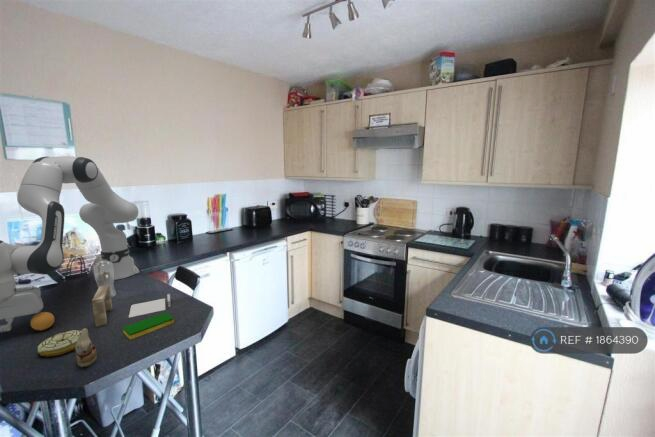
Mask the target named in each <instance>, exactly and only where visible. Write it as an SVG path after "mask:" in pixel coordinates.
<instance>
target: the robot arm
mask: <svg viewBox="0 0 655 437" xmlns="http://www.w3.org/2000/svg"><path fill="white" fill-rule="evenodd" d="M63 184H75V185H76V187H77V189H78V191H79V192H80V194H81V195H82V196H83V197H84V199H85V200H86V201H87V202H89V203H85V204H83V205H82V206H81V207H80V208H79V213H78V214H79V217H80V220H82V221H83V222H84V223H86V224H88V225H89V226H90V227H91V228H92V229H93V230H94V231H95V233H96V234H97V236H98V240H99V244H100V249H101V250H100V257H101V258H100V261H99V262H102V261H112V264H113V268H114V281H115V280H116V281H117V280H120V279H121V280H122V279H125V278H128V277H130V276H134V275H136V274H140V272H141V271H140V269H139V268H138V267H137V266H136V264H135V261H134V258H133V257H132V256H130V248H129V247H128V242H127V241H128V240H127V234H126V233H125V231H122V230H121V229H118V228H117V227H116V226H115V224H124V223H125V224H126V223H130V222H134V221H136V220H137V218H138V217H139V208H138V207H137V204H135V203H133V202H131V201H128V200H126V199H124V198H122V196H120V195H119V194H117V193H116V192H115V191H114V190H113V189H112V188H111V186H110V184H109V183H108V181H107V180H106V178H105V176H104V174H103V173H102V172H101V170H100V168H98V166H97V164H96V163H95V162H94V161H93V160H92V159H90V158H86V157H84V156H83V157H82V156H67V155H62V156H41V157H38V158H36V159H35V160H34V161H32V164H30V166H28V168H27V170H26V172H25V174H24V176H23V178H22V180H21V182H20V185H19V187H18V188H19V189H18V192H17V196H16V197H17V198H16V200H17V203H18V204H19V205H20V207H22V209H24V210H25V211H27V212H29V213H31V214H35V215H37V216H39V217H40V219H41V221H42V224H41V233H40V241H39V243H38V244H36V245H27V244H26V245H22V244H21V245H19V244H11V243H7V242H5V241H4V240H0V320H5V322H7V323H6V324H3V325H1V324H0V333H4V332H5V333H6V332H10V331H11V330H12V324H13V322H14V320H15V318H18V317H23V316H28V315H33V314H34V315H35V314H38V313H41V311H42V310H43V308H44V302H43V299H42V297H41V296H42V292H41V291H42V290H41V288H40V287H37V286H33V285H30V286H26V287H24V286H23V287H17V285H16V281H15V277H14V275H17V274H34V275H35V274H37V275H50V274H52V273H54V272H56V271H57V270H58V269H59V268H61V266H62V265H63V263H64V249H63V241H64V229H65V208H64V207H63V205H62V204H61V203H60V198H61V197H60V196H61V194H62V189H63Z"/></svg>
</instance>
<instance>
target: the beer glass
mask: <svg viewBox="0 0 655 437" xmlns="http://www.w3.org/2000/svg"><path fill="white" fill-rule="evenodd" d="M92 266H93V276H94V277H93V278H94V280H95V283H96V285H97V287H98V288H99V286H105V285H109V288H110V295H111V298H113V297H115V296H116V295H117V292H116V290H115V280H114V268H113V264H112V261H102V262H100V261H98V262H94V263H93V265H92Z"/></svg>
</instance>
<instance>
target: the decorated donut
mask: <svg viewBox="0 0 655 437" xmlns="http://www.w3.org/2000/svg"><path fill="white" fill-rule="evenodd" d="M81 331H82V330H79V329H78V330H76V329H74V330H73V329H72V330H69V331H65V332H60V333H57V334H55V335H52V336H50V337H48V338H46V339H45V340H43V341H42V342H41V343H39V345H38V346H37V353H38V354H39V355H40V356H41V357H54V356H55V357H56V356H61V355H64V354H66V353H69V352H71V351H75V348H76V343H77V340H78V337H79V336H80V334H81Z"/></svg>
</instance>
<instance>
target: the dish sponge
mask: <svg viewBox="0 0 655 437" xmlns="http://www.w3.org/2000/svg"><path fill="white" fill-rule="evenodd" d="M174 323H175V318H174V317H173V316H172V315H170V314H169V313H168V312H162V313H160V314H157V315H154V316H151V317H149V318H146V319H143V320H140V321H137V322H134V323H132V324H129V325H125V326H124V327H122V332H123V334H124V335H125V336H126V337H127V339H128V340H134V339H137V338H139V337H141V336H144V335H146V334H149V333H152V332H155V331H157V330H159V329H160V330H161V328H165V327H167V326H170V325H172V324H174Z"/></svg>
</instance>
